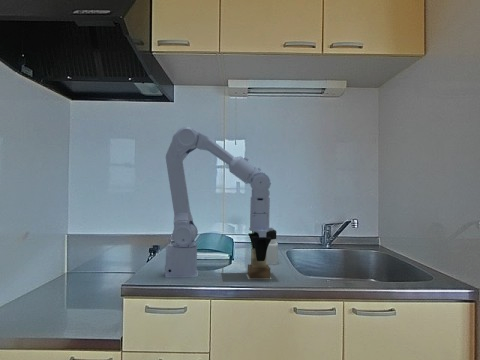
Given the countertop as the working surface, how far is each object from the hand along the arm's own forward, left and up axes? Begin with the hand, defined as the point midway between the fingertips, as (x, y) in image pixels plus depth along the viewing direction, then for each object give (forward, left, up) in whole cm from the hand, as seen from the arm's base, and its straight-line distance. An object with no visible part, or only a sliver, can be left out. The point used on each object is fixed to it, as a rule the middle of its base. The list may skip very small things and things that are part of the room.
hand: (258, 258), depth 141 cm
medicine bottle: (+6, +23, -6) cm, 24 cm away
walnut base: (0, 0, -5) cm, 5 cm away
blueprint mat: (-3, -1, -6) cm, 6 cm away
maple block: (0, 0, -2) cm, 2 cm away
